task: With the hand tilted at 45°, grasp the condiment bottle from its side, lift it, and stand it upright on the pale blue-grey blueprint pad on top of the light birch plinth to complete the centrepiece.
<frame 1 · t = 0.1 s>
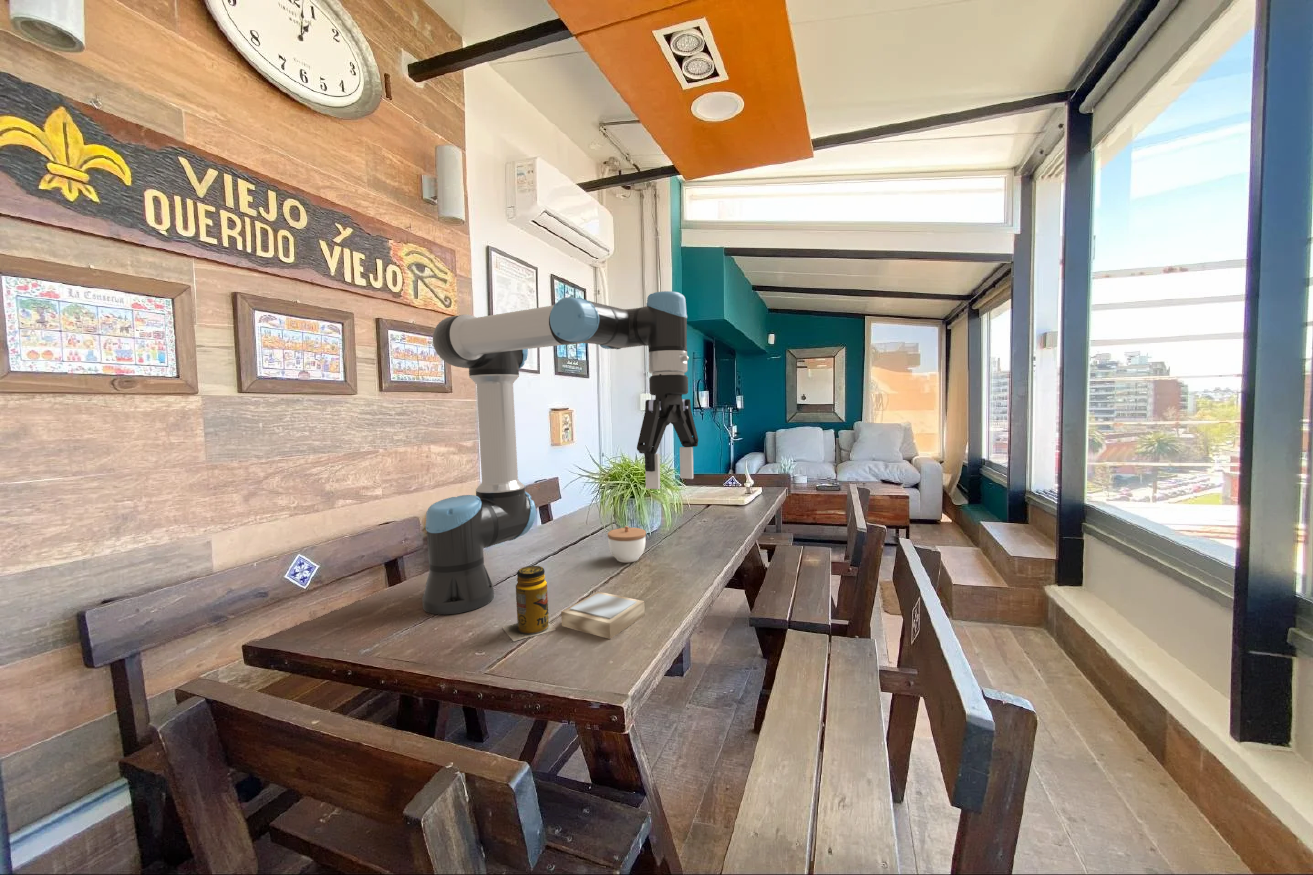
hand: (670, 483, 101), 28 cm above the table, tool pointing down, fingers open, 13 cm apart
condiment: (529, 630, 102), on the table
plinth: (604, 620, 105), on the table
lidded jar: (627, 559, 145), on the table
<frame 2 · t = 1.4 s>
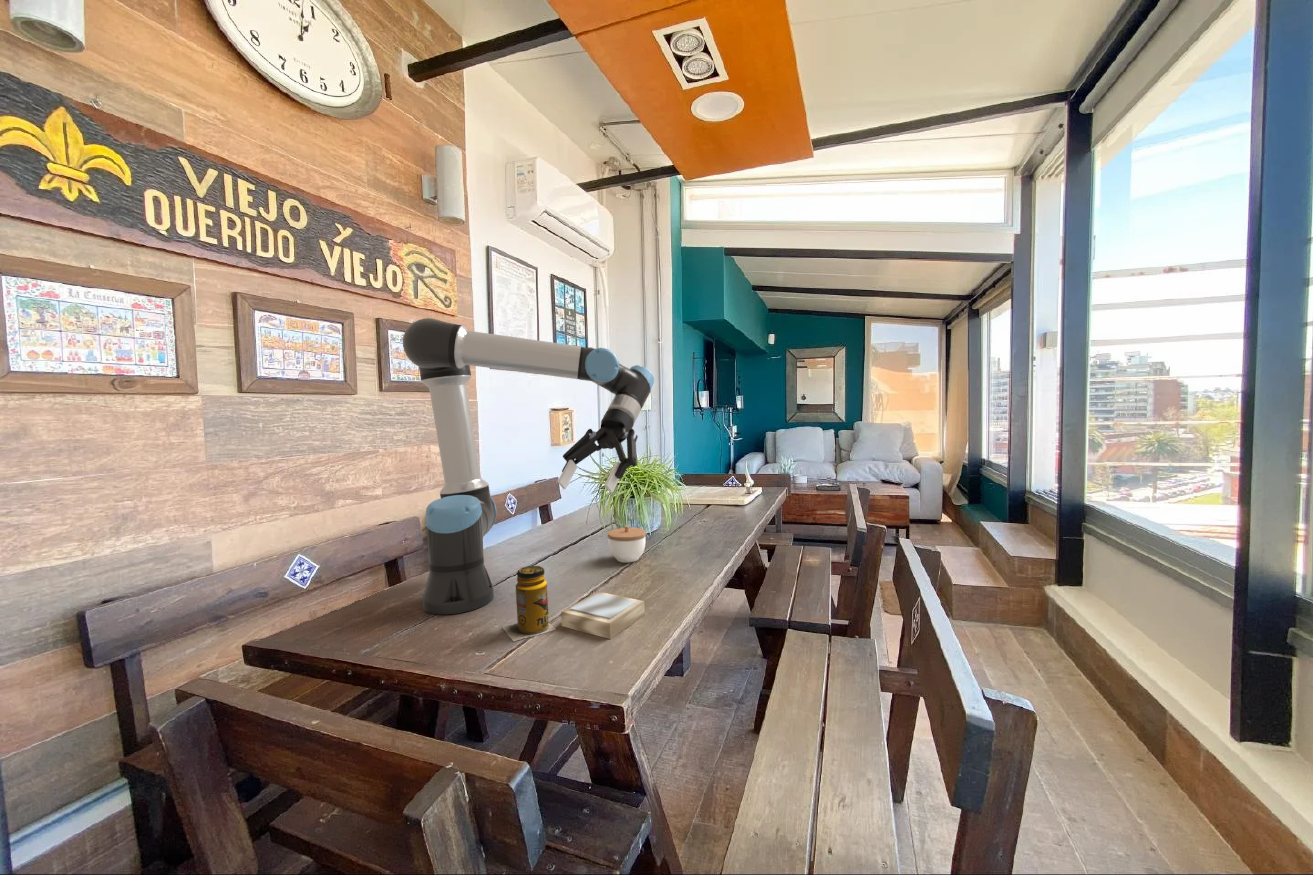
hand: (584, 487, 116), 25 cm above the table, tool tilted 45°, fingers open, 13 cm apart
nothing on the table moved.
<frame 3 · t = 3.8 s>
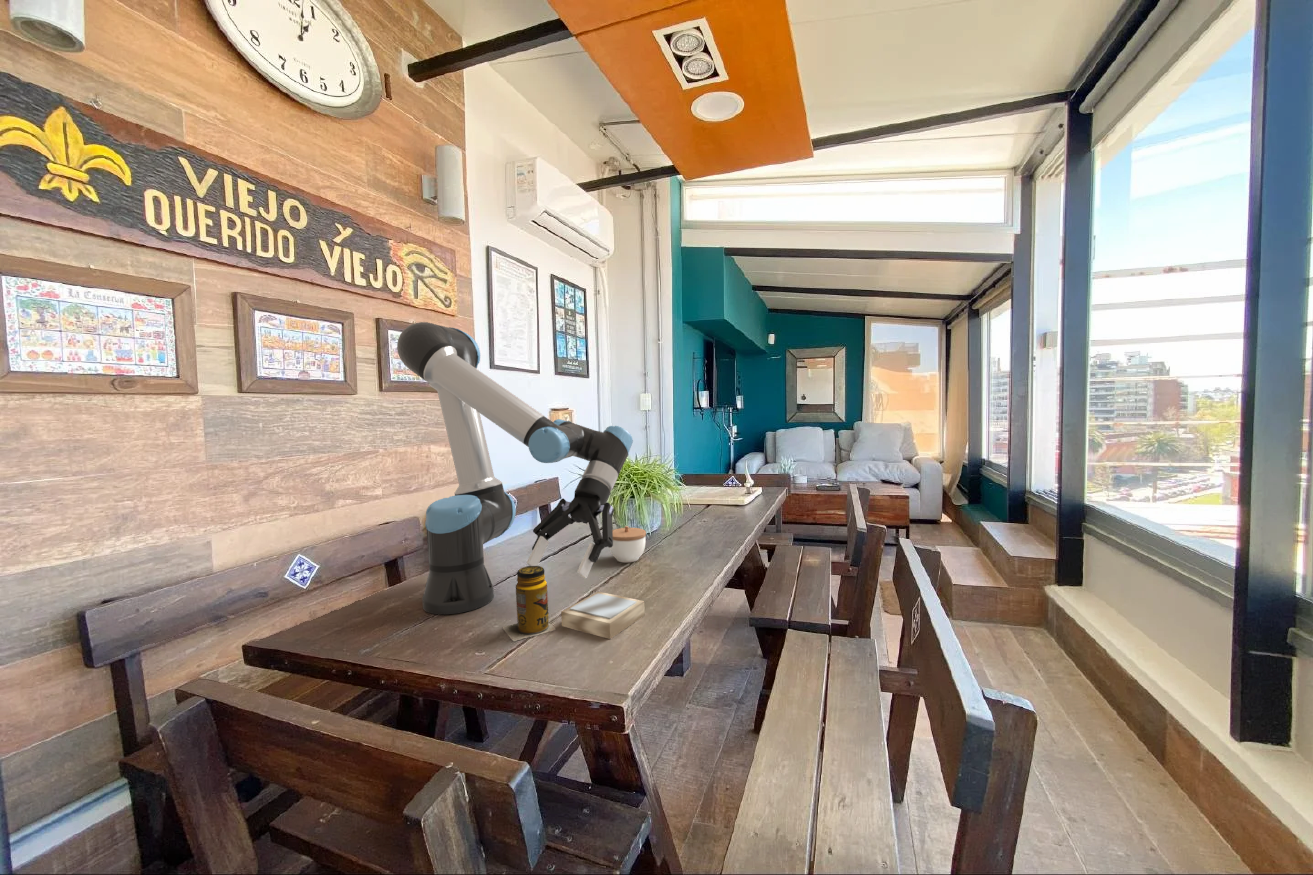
hand: (555, 570, 106), 10 cm above the table, tool tilted 45°, fingers open, 13 cm apart
nothing on the table moved.
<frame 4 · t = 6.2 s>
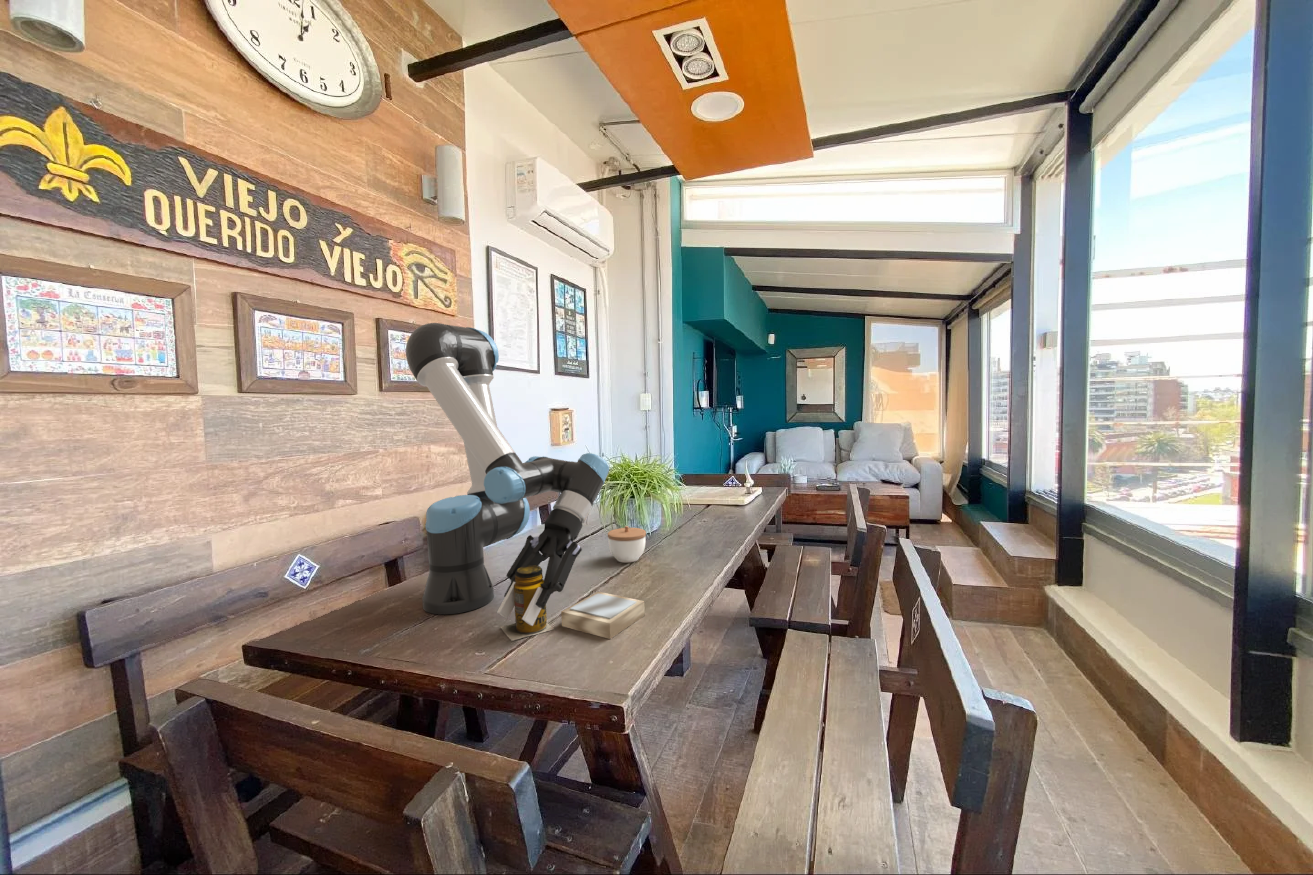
hand: (514, 618, 98), 3 cm above the table, tool tilted 45°, fingers closed on condiment, 6 cm apart
condiment: (527, 629, 102), on the table, touching gripper
everything else where it was.
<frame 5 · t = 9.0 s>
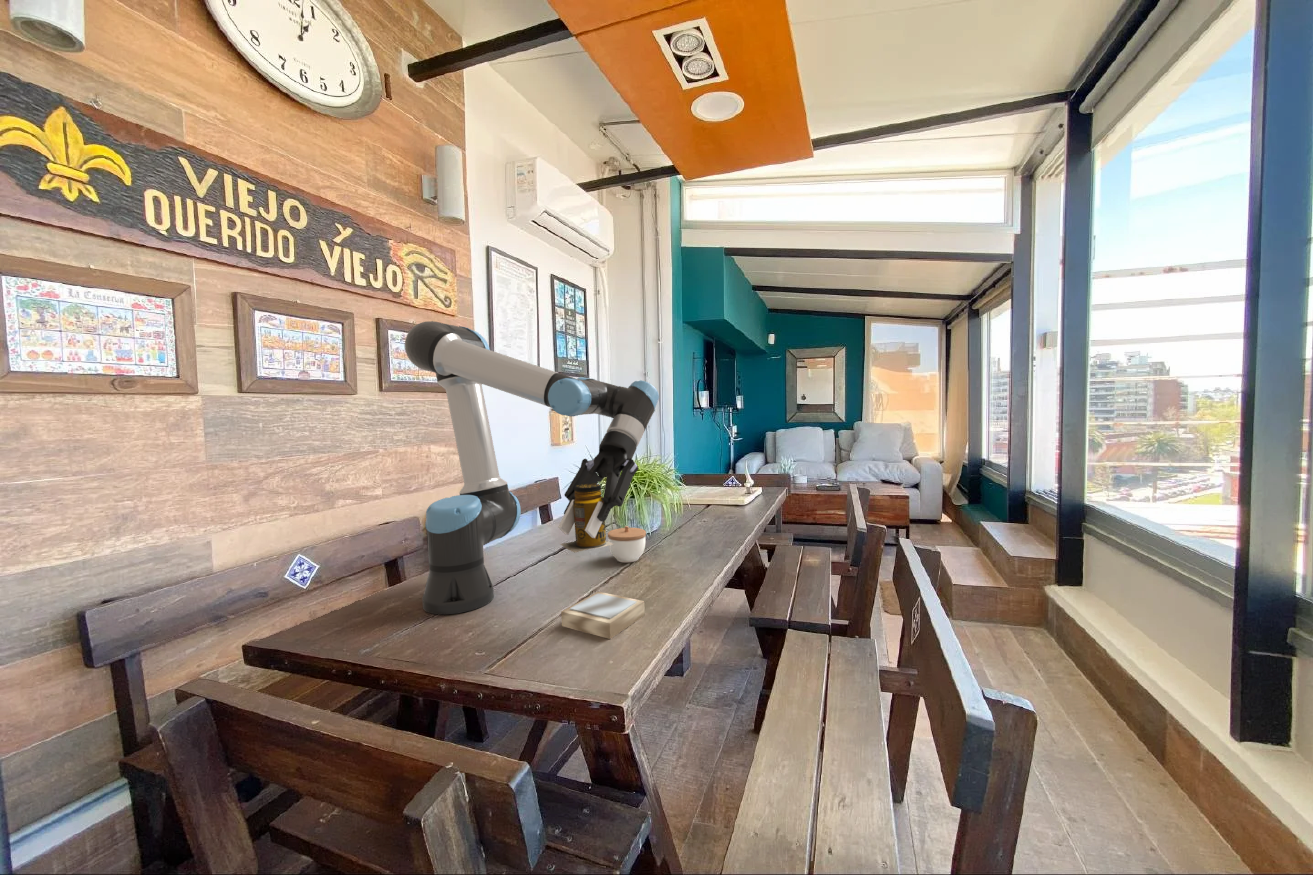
hand: (576, 532, 99), 19 cm above the table, tool tilted 45°, fingers closed on condiment, 6 cm apart
condiment: (587, 546, 103), point 16 cm above the table, touching gripper
everything else where it was.
when the fingers open (8 cm above the table, at t = 11.5 s): condiment drops 1 cm, resting on plinth.
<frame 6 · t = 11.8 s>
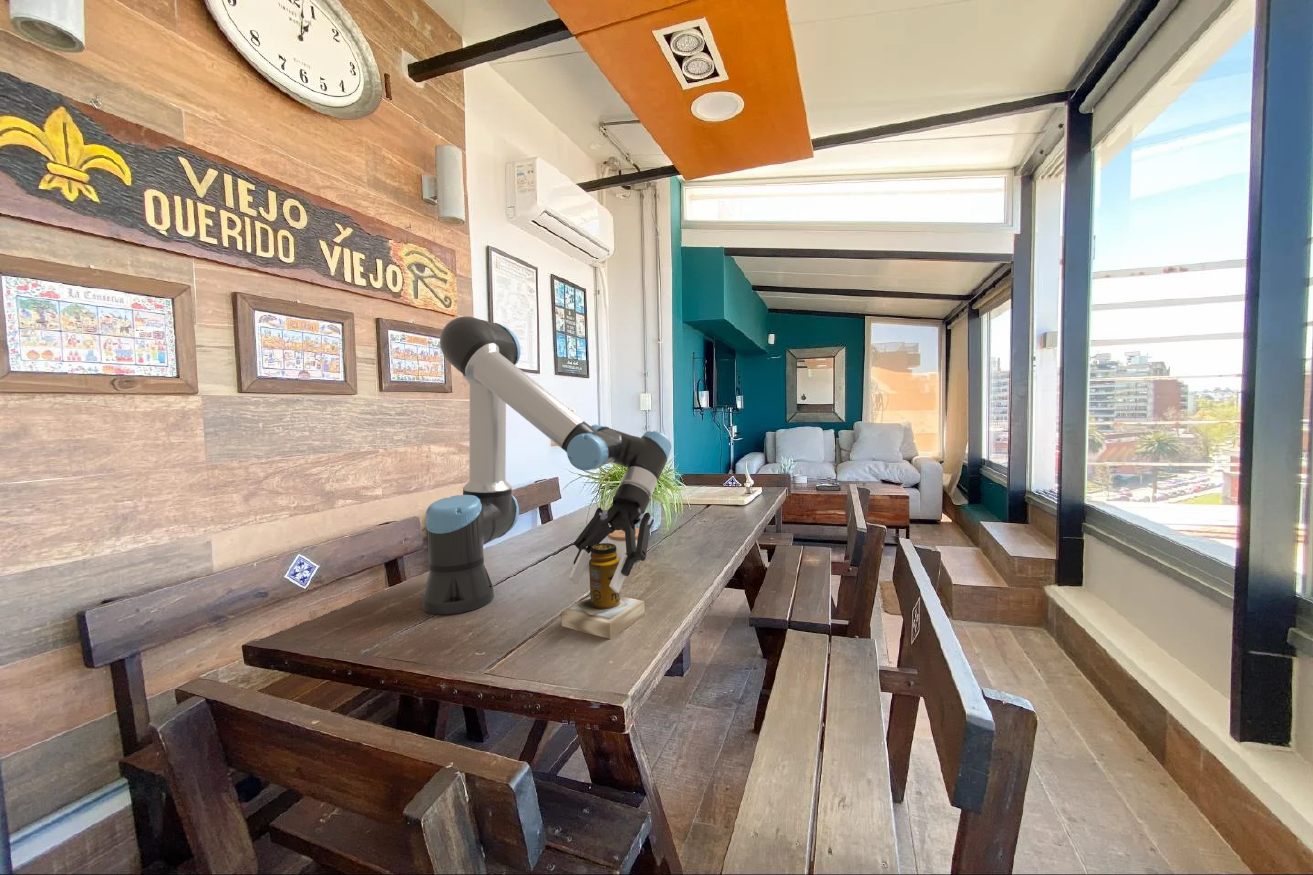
hand: (592, 585, 101), 8 cm above the table, tool tilted 45°, fingers open, 9 cm apart
condiment: (601, 605, 105), point 3 cm above the table, touching plinth
everything else where it was.
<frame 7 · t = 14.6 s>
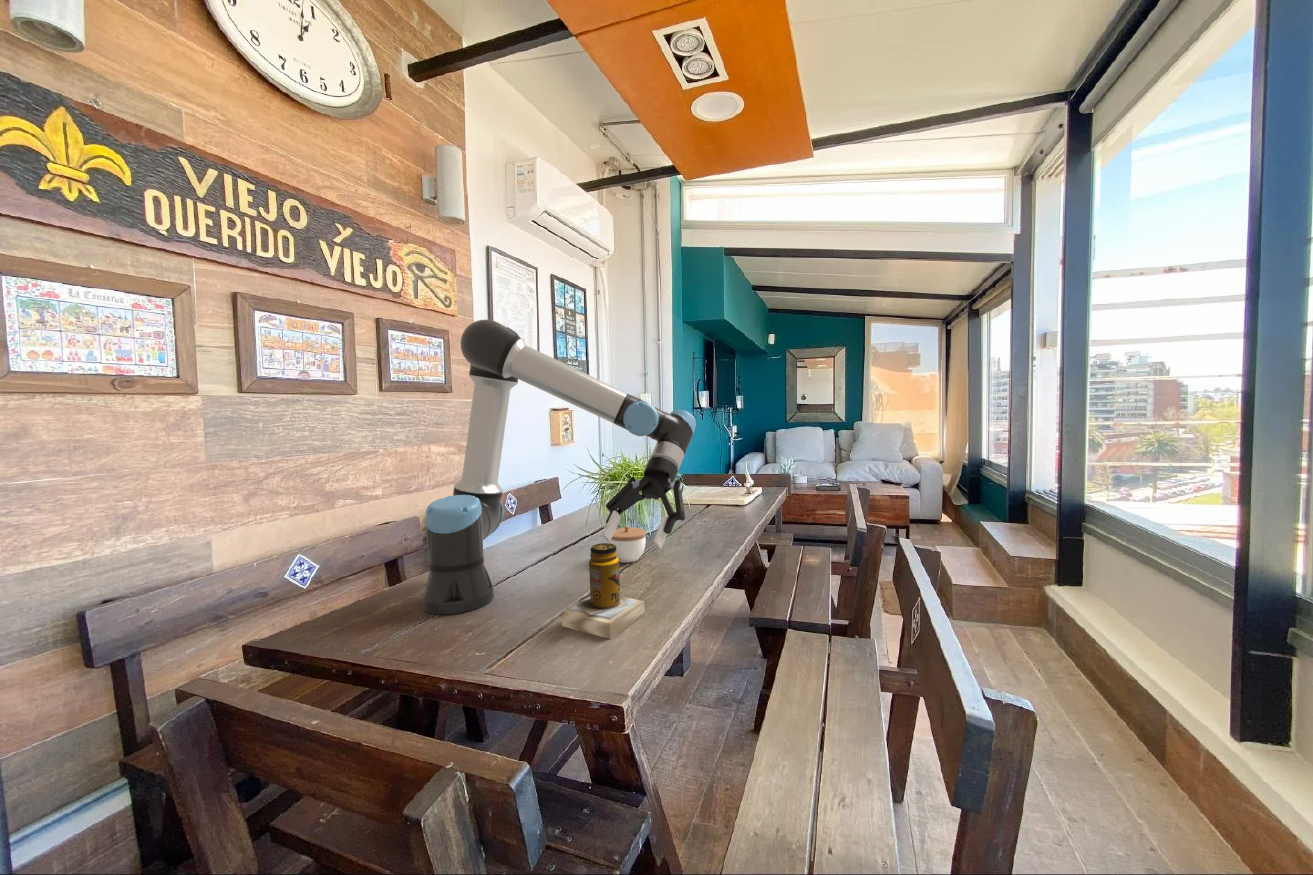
hand: (630, 541, 112), 14 cm above the table, tool tilted 45°, fingers open, 13 cm apart
nothing on the table moved.
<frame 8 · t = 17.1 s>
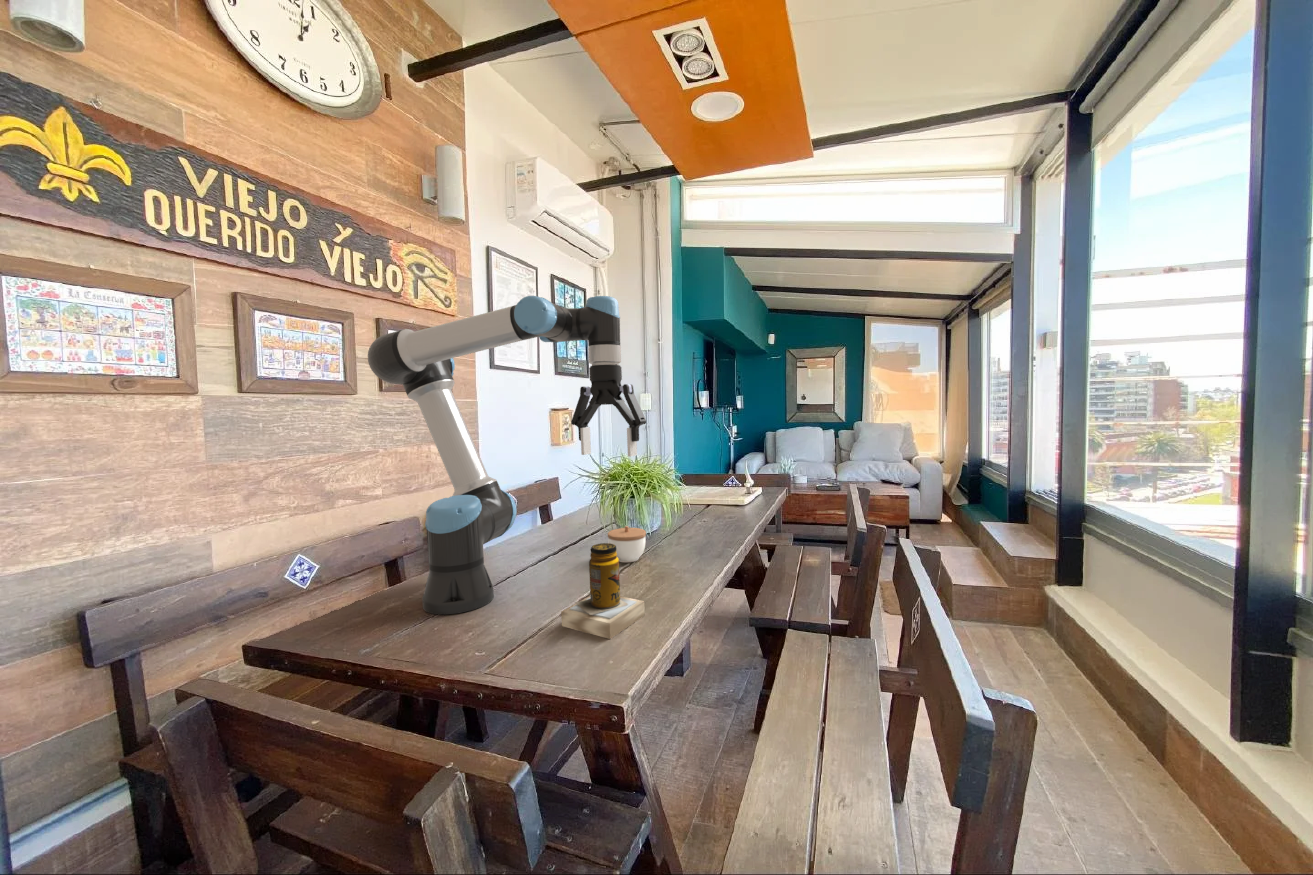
hand: (608, 455, 122), 32 cm above the table, tool pointing down, fingers open, 13 cm apart
nothing on the table moved.
at the end: condiment 0.4 cm off-centre on the plinth, point 3.1 cm above the plinth's base; condiment tilted 0°; the gripper is holding nothing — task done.
